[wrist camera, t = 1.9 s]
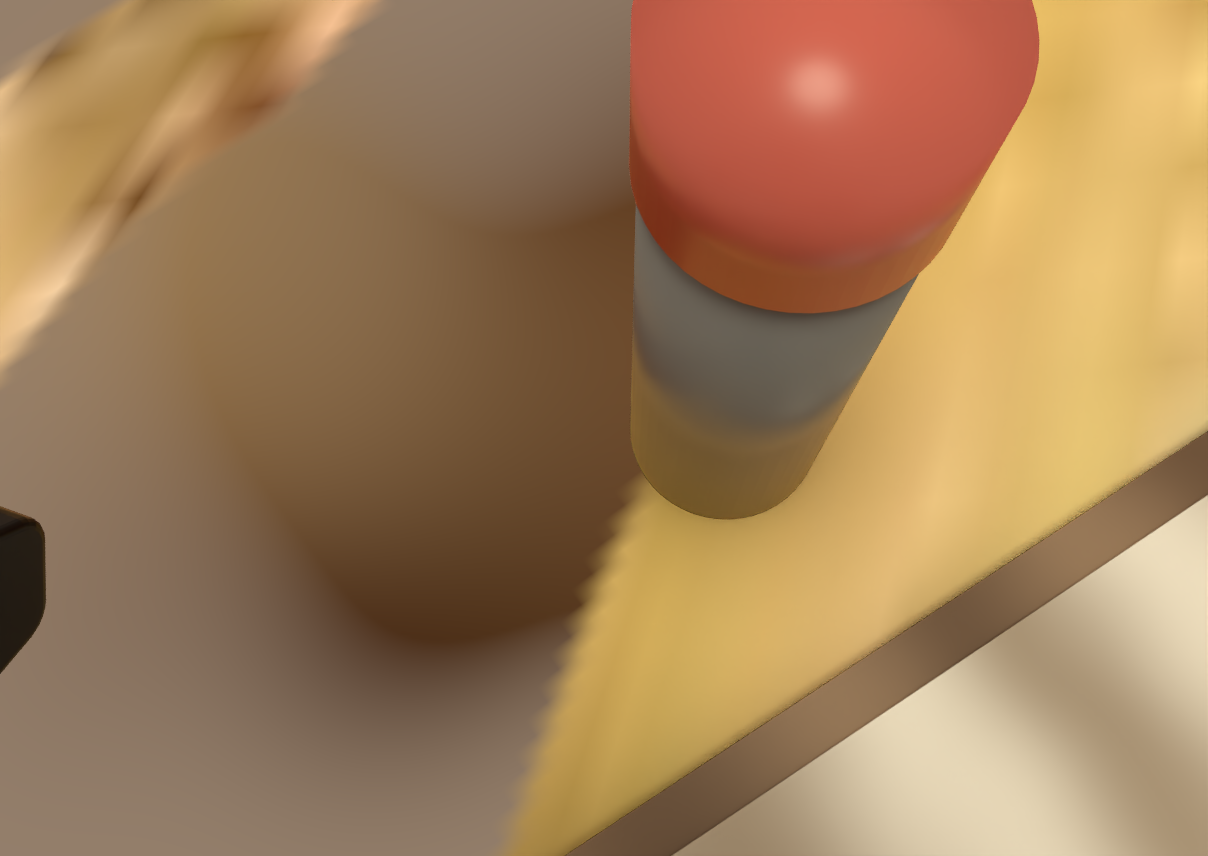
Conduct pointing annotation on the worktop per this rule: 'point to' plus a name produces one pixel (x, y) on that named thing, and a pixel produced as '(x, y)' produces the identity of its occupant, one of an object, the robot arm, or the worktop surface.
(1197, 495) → the brown framed square board
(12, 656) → the robot arm
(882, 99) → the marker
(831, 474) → the worktop surface
